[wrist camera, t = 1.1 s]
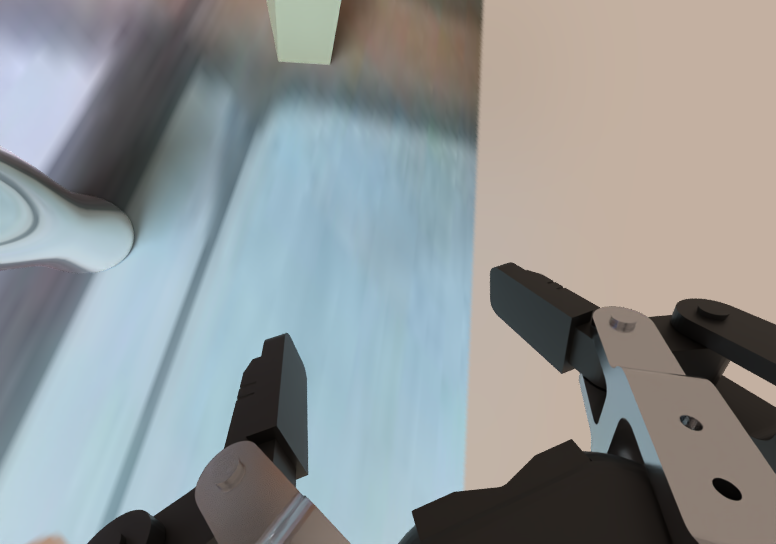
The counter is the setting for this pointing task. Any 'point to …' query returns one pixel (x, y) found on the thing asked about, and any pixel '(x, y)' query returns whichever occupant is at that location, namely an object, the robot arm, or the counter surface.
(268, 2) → the green block
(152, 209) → the counter surface
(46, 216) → the beer glass
